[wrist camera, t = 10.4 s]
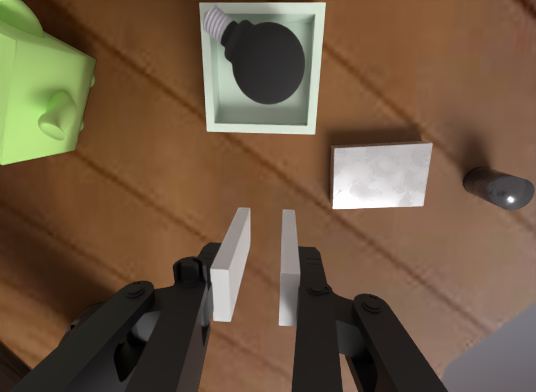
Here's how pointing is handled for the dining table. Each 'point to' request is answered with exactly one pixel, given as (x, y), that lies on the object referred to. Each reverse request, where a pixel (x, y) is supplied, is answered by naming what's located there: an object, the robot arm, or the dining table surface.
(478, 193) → the cylinder
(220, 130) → the tray
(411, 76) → the dining table surface
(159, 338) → the robot arm
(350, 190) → the white stone flat block
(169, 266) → the dining table surface
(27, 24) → the kettle
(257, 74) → the light bulb
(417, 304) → the dining table surface
